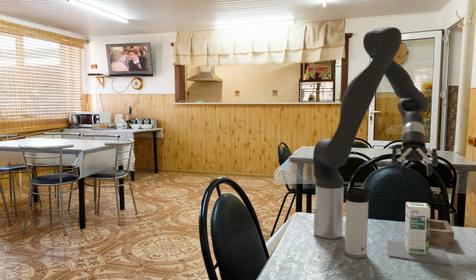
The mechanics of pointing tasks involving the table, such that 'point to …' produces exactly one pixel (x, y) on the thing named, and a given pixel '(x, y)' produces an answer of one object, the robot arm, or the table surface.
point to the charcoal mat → (434, 256)
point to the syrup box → (417, 228)
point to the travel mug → (356, 223)
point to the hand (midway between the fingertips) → (414, 173)
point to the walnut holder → (441, 234)
